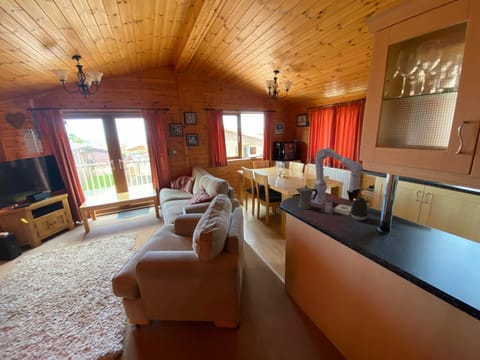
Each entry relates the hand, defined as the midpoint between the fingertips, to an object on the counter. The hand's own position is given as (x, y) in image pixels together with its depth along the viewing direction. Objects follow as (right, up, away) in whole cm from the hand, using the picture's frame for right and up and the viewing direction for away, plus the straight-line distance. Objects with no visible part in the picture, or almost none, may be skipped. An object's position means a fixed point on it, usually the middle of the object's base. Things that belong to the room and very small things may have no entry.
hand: (352, 199), depth 142 cm
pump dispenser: (0, -13, -7) cm, 14 cm away
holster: (-16, -10, +4) cm, 19 cm away
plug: (-16, -9, +4) cm, 19 cm away
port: (-4, -9, +4) cm, 11 cm away
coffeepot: (-29, -8, +14) cm, 33 cm away
